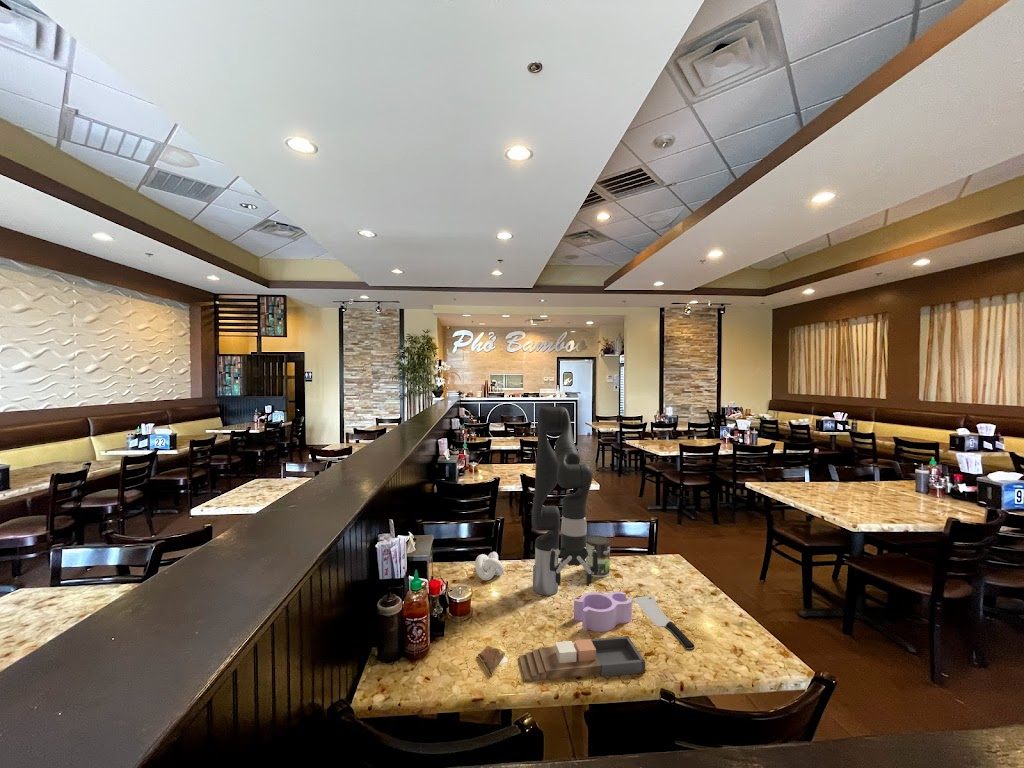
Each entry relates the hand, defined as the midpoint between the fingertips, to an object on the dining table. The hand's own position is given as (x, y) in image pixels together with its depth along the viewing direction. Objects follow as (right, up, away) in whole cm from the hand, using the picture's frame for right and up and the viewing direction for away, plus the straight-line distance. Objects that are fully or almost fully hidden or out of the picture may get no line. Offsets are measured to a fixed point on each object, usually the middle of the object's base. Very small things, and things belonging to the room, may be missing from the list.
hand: (573, 584), depth 129 cm
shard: (-23, -23, -1) cm, 33 cm away
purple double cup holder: (+14, -22, +21) cm, 34 cm away
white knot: (-28, -21, +53) cm, 63 cm away
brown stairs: (-13, -22, -4) cm, 26 cm away
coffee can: (+19, -21, +57) cm, 63 cm away
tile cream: (-3, -20, -3) cm, 20 cm away
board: (-2, -22, -3) cm, 23 cm away
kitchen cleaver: (+33, -23, +20) cm, 45 cm away
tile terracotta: (+3, -20, -2) cm, 20 cm away
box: (+12, -23, -1) cm, 26 cm away
